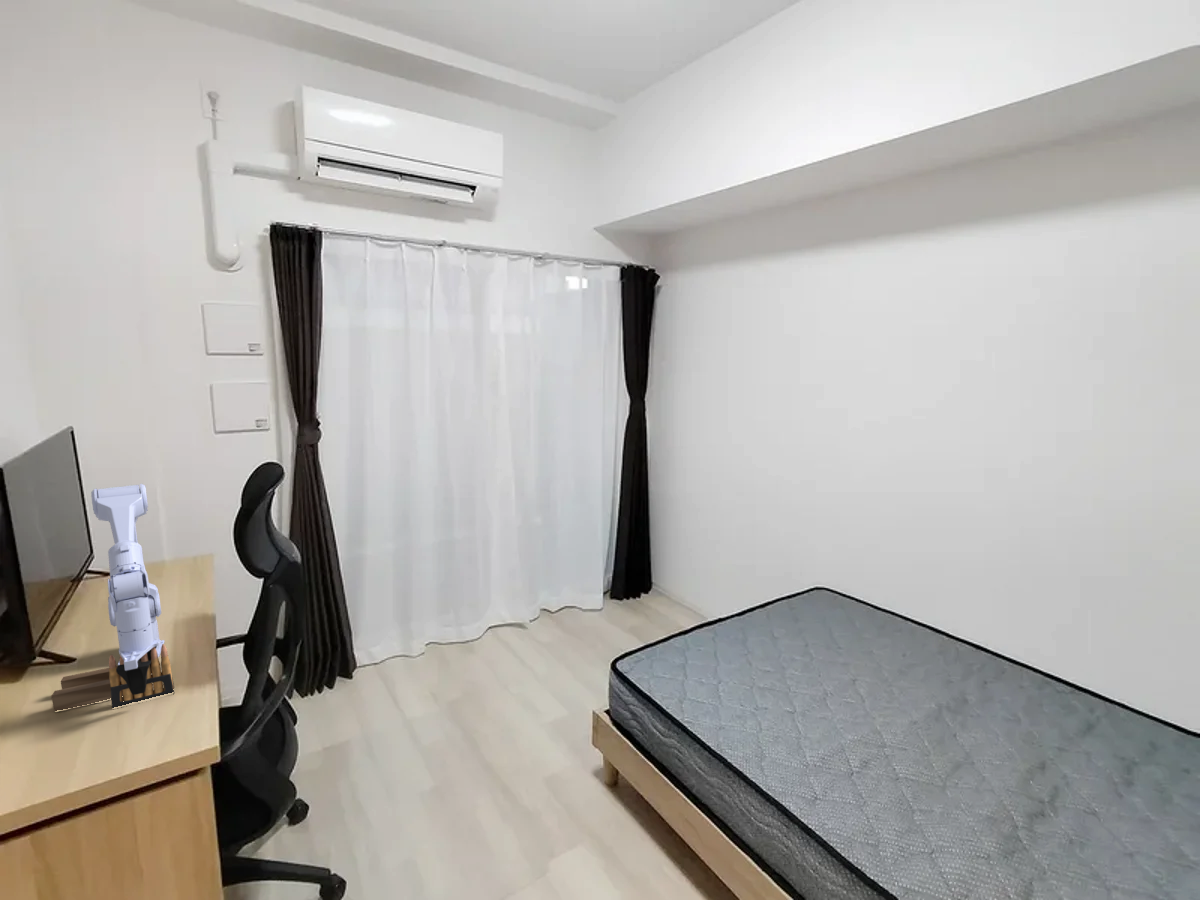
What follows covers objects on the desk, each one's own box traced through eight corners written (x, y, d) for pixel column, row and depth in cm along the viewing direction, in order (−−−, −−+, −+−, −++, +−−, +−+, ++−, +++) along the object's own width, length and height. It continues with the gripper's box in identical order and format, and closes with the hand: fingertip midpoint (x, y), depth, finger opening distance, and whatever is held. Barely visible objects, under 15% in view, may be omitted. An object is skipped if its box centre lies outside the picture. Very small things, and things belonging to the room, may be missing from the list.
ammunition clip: (174, 690, 129) (168, 641, 127) (174, 694, 127) (168, 644, 125) (113, 705, 123) (106, 654, 121) (112, 709, 121) (104, 658, 119)
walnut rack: (66, 693, 127) (63, 676, 126) (150, 675, 134) (148, 659, 134) (54, 713, 120) (51, 695, 119) (144, 693, 127) (141, 676, 127)
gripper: (151, 636, 118) (159, 696, 120) (163, 609, 130) (170, 663, 133) (107, 644, 114) (116, 706, 117) (123, 615, 127) (131, 671, 129)
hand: (142, 684), depth 124 cm, fingers open, 7 cm apart
